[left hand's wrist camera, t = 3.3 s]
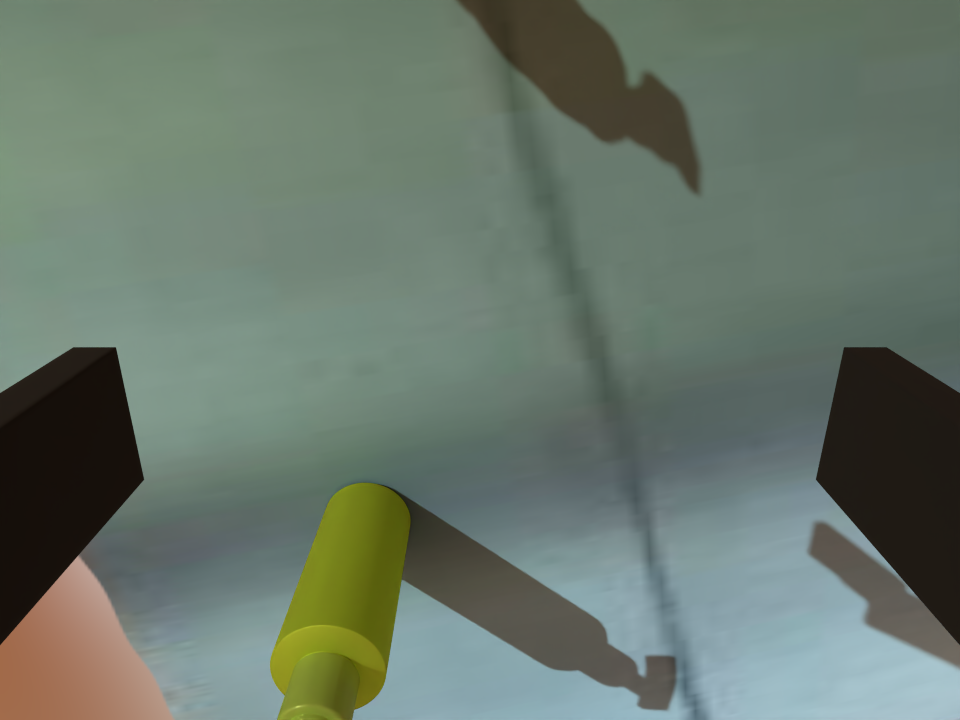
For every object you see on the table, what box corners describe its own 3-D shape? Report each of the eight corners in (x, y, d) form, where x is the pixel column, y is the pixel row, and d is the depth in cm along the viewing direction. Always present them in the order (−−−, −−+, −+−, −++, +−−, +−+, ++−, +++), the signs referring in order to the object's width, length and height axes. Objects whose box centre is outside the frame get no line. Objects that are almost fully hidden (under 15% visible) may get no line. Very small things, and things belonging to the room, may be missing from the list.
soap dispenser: (412, 471, 45) (364, 739, 26) (409, 556, 47) (364, 855, 29) (324, 466, 45) (213, 731, 26) (325, 551, 47) (225, 849, 29)
